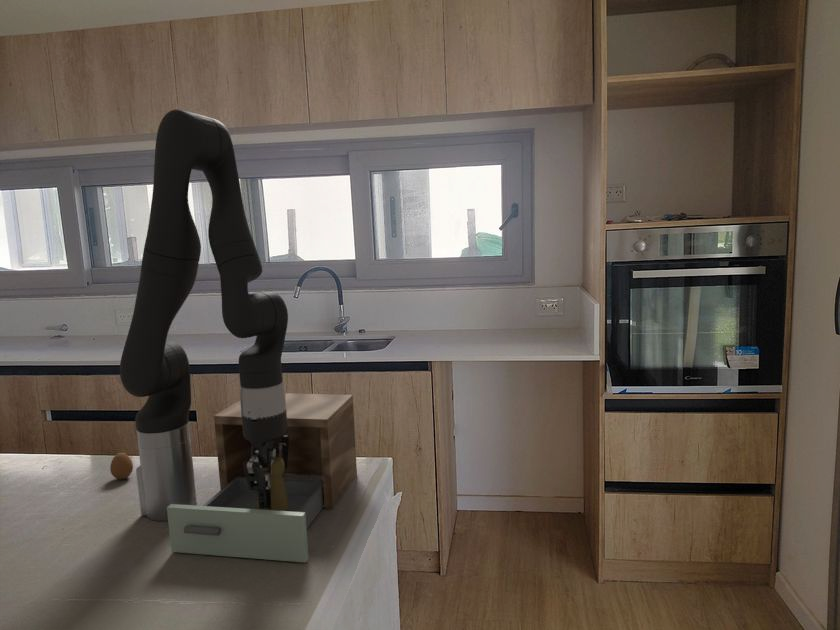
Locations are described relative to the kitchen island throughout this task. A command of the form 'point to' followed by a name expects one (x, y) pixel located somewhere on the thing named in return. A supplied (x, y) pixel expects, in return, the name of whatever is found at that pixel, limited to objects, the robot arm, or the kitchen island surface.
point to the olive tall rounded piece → (277, 487)
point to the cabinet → (299, 441)
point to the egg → (121, 466)
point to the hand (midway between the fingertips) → (271, 502)
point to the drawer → (247, 523)
